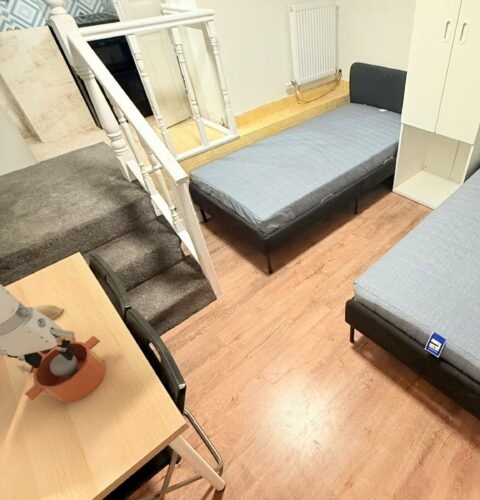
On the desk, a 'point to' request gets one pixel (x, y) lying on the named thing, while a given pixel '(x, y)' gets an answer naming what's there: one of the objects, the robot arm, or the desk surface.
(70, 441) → the desk surface
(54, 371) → the light bulb
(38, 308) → the decorative ornament
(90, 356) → the pot
